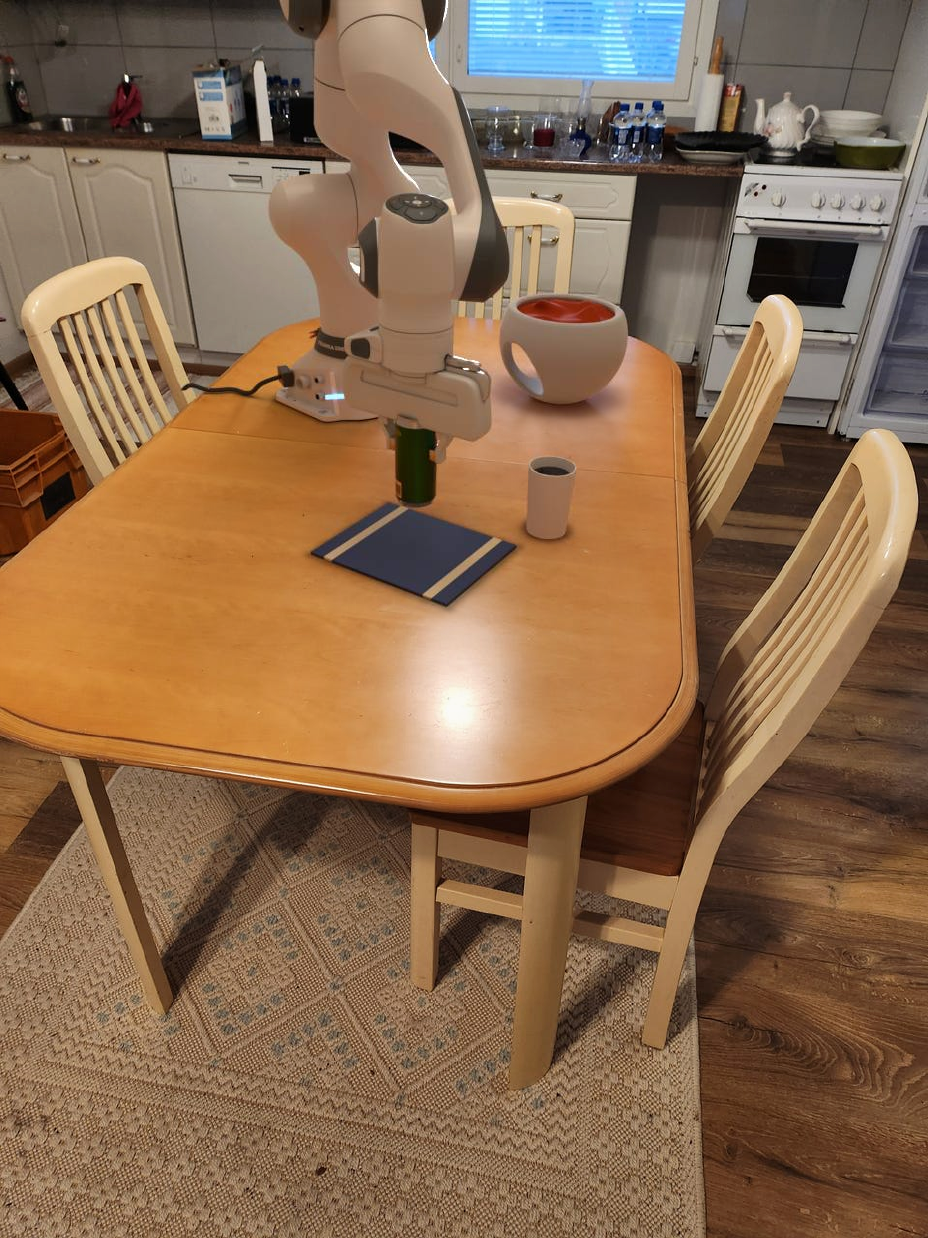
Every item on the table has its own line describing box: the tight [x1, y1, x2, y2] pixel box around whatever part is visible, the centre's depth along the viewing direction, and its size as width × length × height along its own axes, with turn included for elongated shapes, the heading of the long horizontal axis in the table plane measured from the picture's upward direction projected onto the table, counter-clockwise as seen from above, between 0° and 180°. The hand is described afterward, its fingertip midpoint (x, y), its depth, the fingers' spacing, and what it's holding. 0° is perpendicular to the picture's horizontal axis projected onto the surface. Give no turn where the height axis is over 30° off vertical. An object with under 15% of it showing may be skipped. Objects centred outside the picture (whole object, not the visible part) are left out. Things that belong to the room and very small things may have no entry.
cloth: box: [310, 501, 518, 608], centre depth 119 cm, size 22×18×1 cm
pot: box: [498, 292, 629, 405], centre depth 165 cm, size 24×24×18 cm
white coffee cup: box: [525, 455, 577, 540], centre depth 123 cm, size 7×7×10 cm
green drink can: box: [394, 414, 438, 509], centre depth 111 cm, size 5×5×12 cm
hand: (415, 454), depth 111 cm, fingers closed on green drink can, 5 cm apart
